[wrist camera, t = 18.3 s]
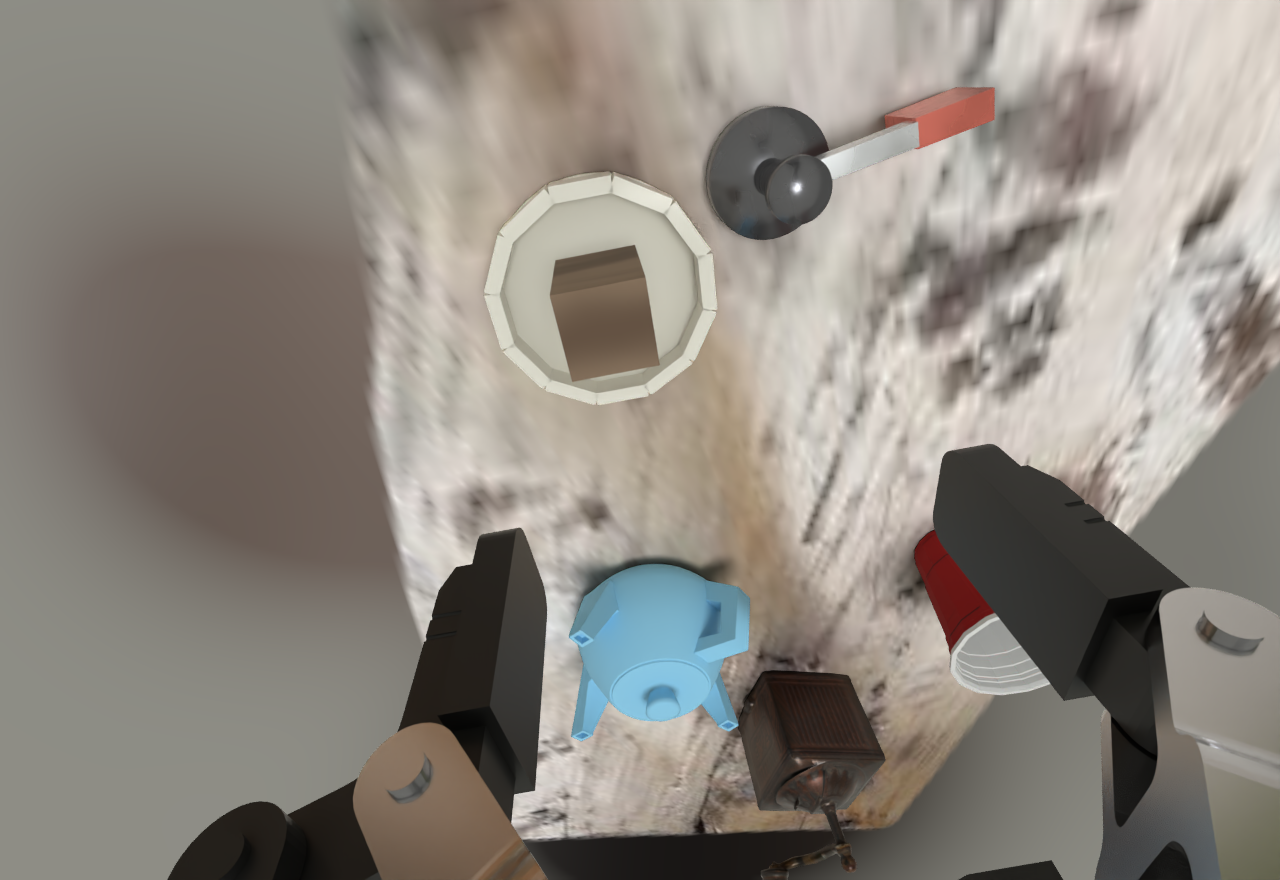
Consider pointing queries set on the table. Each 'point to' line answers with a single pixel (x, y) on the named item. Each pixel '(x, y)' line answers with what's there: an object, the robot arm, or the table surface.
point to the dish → (587, 223)
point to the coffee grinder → (808, 752)
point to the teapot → (657, 646)
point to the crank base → (768, 173)
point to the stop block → (603, 313)
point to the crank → (914, 128)
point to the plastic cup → (973, 628)
